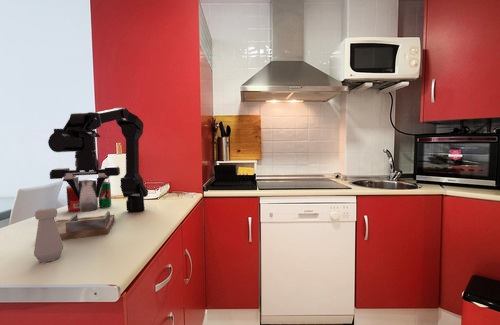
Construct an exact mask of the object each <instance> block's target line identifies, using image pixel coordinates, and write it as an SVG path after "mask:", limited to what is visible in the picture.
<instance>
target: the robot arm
mask: <svg viewBox="0 0 500 325" xmlns="http://www.w3.org/2000/svg"><path fill="white" fill-rule="evenodd" d="M69 115H70V117H69V118H68V120H67V122H66V123H65V125H64V126H63V128H53V133H52V134H50V136H49V138H48V140H47V143H48V144H47V145H48V147H49V148H50V149H51V151H53V152H54V153H70V152H71V153H72V152H75V153H74V159H75V161H74V165H75V169H74V170H73V169H70V167H61V168H59V167H58V168H53V169H51V170H50V171H49V180H57V179H59V180H60V179H62V182H66V184H68V186H69V185H70V186H71V188H72V189H73V191H74V193H75V194H76V196H77V198H78V199H80V197H79V176H88V175H89V176H90V175H98V177H96V180H97V198H98V197H99V195H100V192H101V189H102V185H103V183H104V181H105V180H108V179H109V178H110V177H115V176H120V175H121V169H120V166H118V165H114V166H105V167H104V168H100V160H99V159H98V156H97V145H96V142H97V141H96V138H100V137H101V135H100V134H99V133H98V132H96V130H97V129H98V128H100V127H102V125H103V124H106V123H110V122H113V121H116V125H117V126H118V127H120V129H121V131H120V132H121V134H122V135H123V137H124V139H125V174H124V176H123V177H121V178H120V186H119V188H120V190H121V192H122V195H123V196H122V197H123V198H127V199H126V201H125V202H126V203H125V205H126V211H127V213H129V214H130V213H136V212H137V213H139V212H145V197H148V195H149V190H148V189H147V187H146V186H145V185H144V178H143V177H142V175H141V174H140V160H139V158H140V155H139V154H140V152H139V151H140V149H139V148H140V144H139V142H140V141H139V140H140V139H141V137H142V135H143V133H144V126H145V125H144V122H143V121H142V120H141V118H139V116H138V115H136V114H135V113H133V112H130V111H129V109H127V108H125V107H114V108H112V109H107V110H102V111H97V112H95V111H90V112H89V111H86V112H83V111H82V112H73V113H70V114H69ZM98 199H99V198H98Z"/></svg>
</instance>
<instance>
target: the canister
mask: <svg viewBox="0 0 500 325" xmlns="http://www.w3.org/2000/svg"><path fill="white" fill-rule="evenodd" d="M78 184H79V197H80V211H79V212H81V213H89V212H94V211H95V212H96V211H97V210H99V198H97V178H88V179H81V180H80V179H78Z"/></svg>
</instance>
